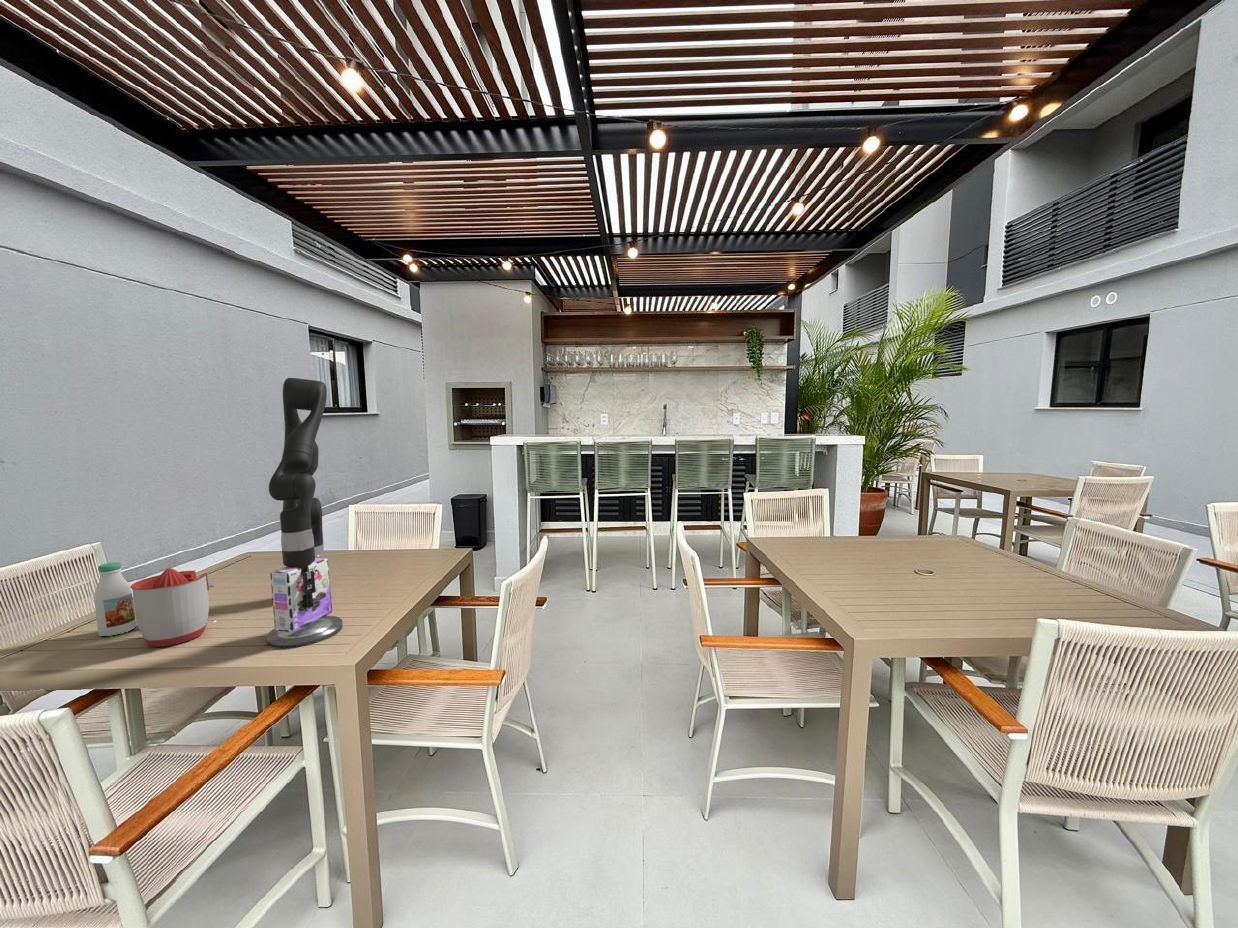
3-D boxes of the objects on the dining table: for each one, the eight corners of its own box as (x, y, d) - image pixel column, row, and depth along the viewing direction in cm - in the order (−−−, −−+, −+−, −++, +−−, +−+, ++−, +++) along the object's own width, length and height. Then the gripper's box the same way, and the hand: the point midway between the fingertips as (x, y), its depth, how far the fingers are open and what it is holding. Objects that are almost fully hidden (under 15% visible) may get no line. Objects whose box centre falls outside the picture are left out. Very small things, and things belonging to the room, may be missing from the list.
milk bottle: (93, 640, 139) (84, 569, 137) (105, 630, 146) (97, 562, 144) (130, 633, 143) (121, 565, 141) (140, 624, 150) (132, 558, 148)
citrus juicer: (232, 629, 144) (225, 561, 142) (156, 655, 128) (147, 579, 127) (201, 621, 151) (193, 556, 149) (125, 646, 135) (116, 573, 133)
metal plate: (258, 635, 139) (257, 630, 139) (329, 615, 152) (328, 610, 152) (278, 654, 127) (277, 648, 127) (353, 630, 141) (352, 625, 140)
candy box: (292, 633, 132) (286, 572, 131) (274, 631, 134) (268, 571, 132) (333, 612, 146) (328, 557, 144) (316, 611, 147) (311, 556, 145)
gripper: (274, 545, 139) (279, 602, 141) (291, 553, 130) (296, 614, 132) (304, 539, 145) (309, 594, 147) (322, 547, 136) (327, 605, 137)
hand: (303, 603), depth 139 cm, fingers closed on candy box, 7 cm apart
